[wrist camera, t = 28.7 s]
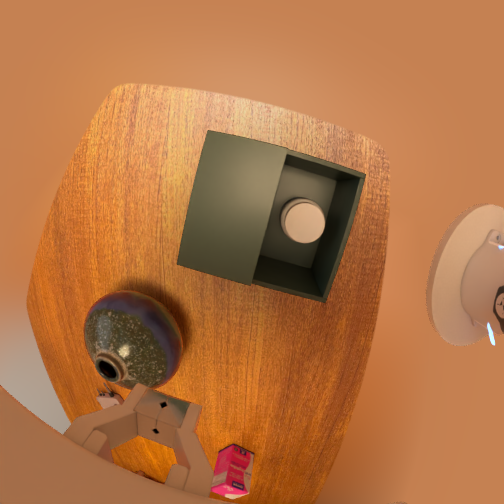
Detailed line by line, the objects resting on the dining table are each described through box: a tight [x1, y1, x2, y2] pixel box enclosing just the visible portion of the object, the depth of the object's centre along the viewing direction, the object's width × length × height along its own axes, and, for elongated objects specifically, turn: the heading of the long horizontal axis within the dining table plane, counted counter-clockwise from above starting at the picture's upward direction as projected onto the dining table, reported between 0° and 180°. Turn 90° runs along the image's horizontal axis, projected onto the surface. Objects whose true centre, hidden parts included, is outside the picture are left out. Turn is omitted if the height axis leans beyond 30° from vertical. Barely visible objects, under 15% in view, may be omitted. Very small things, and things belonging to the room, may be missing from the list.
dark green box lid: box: [177, 130, 288, 286], centre depth 24 cm, size 7×13×1 cm, turn 165°
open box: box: [251, 149, 366, 303], centre depth 29 cm, size 15×13×10 cm
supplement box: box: [210, 444, 254, 499], centre depth 41 cm, size 6×6×12 cm
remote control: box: [97, 383, 124, 409], centre depth 45 cm, size 7×16×3 cm, turn 16°
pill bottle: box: [280, 197, 325, 243], centre depth 30 cm, size 5×5×8 cm
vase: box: [84, 290, 183, 390], centre depth 34 cm, size 15×15×13 cm
